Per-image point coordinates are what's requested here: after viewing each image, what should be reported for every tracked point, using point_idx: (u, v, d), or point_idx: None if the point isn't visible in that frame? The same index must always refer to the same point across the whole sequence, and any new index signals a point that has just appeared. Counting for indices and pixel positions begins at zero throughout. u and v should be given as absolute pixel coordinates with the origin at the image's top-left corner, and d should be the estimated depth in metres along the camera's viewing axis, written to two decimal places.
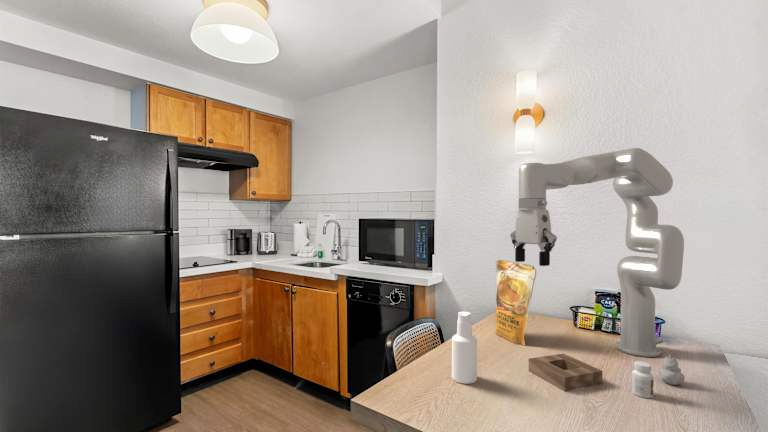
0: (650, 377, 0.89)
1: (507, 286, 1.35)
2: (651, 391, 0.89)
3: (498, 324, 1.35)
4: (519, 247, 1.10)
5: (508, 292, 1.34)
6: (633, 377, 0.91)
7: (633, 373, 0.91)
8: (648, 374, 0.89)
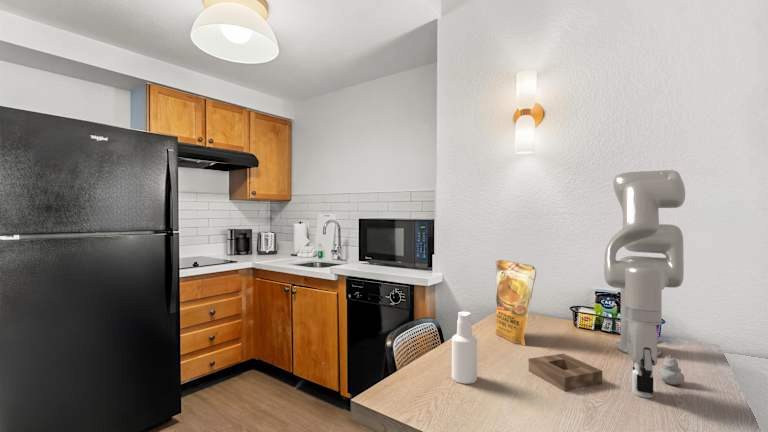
0: None
1: (507, 286, 1.35)
2: None
3: (498, 324, 1.35)
4: None
5: (508, 292, 1.34)
6: (633, 377, 0.91)
7: (633, 373, 0.91)
8: None
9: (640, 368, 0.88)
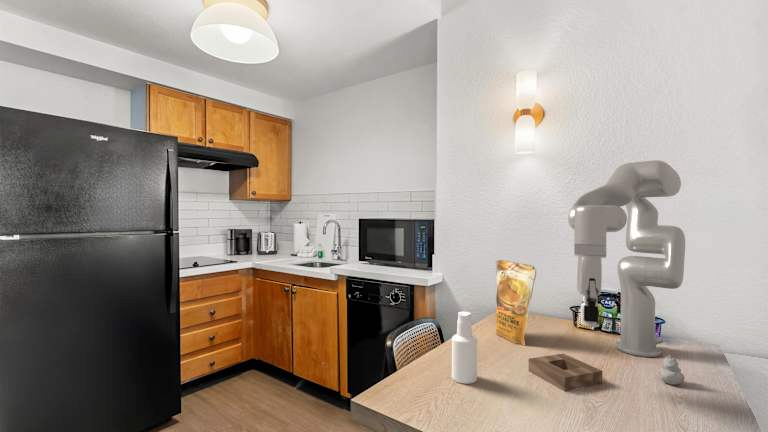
0: None
1: (507, 286, 1.35)
2: None
3: (498, 324, 1.35)
4: None
5: (508, 292, 1.34)
6: (581, 309, 0.97)
7: (581, 305, 0.97)
8: None
9: (586, 299, 0.94)
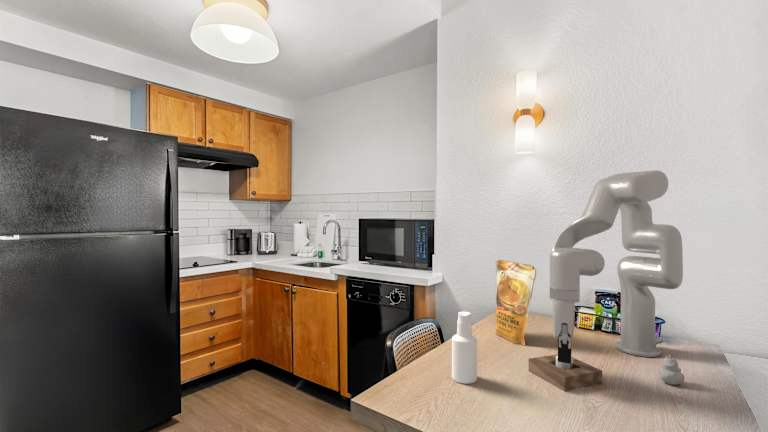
0: None
1: (507, 286, 1.35)
2: None
3: (498, 324, 1.35)
4: None
5: (508, 292, 1.34)
6: (556, 361, 1.01)
7: (556, 358, 1.01)
8: None
9: (560, 340, 0.96)
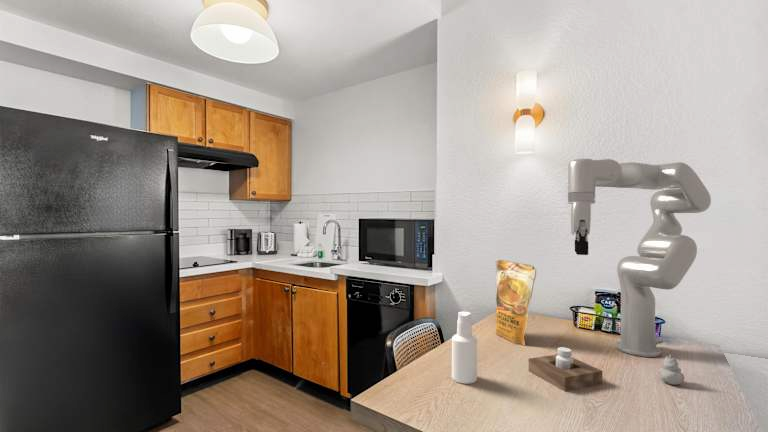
0: (570, 361, 0.98)
1: (507, 286, 1.35)
2: None
3: (498, 324, 1.35)
4: None
5: (508, 292, 1.34)
6: (556, 361, 1.01)
7: (556, 358, 1.01)
8: (568, 358, 0.99)
9: (578, 235, 1.09)
